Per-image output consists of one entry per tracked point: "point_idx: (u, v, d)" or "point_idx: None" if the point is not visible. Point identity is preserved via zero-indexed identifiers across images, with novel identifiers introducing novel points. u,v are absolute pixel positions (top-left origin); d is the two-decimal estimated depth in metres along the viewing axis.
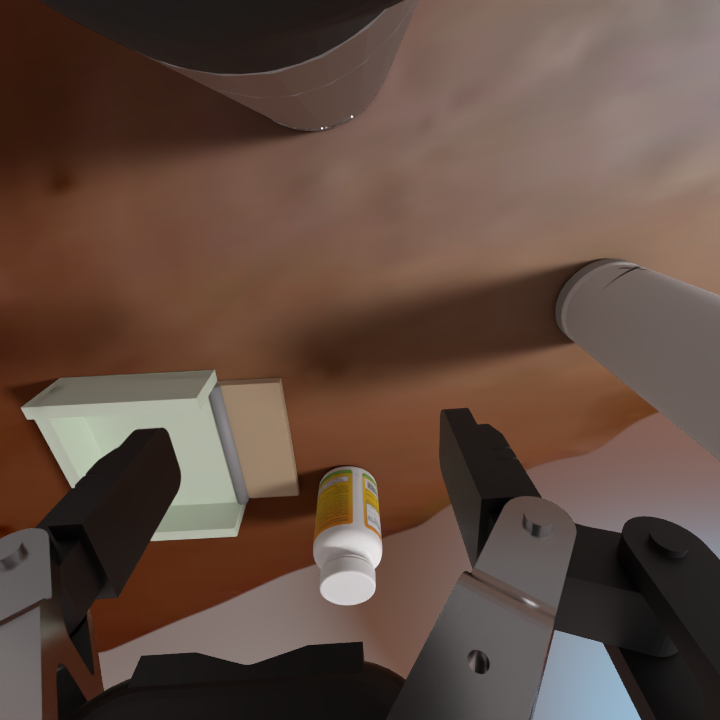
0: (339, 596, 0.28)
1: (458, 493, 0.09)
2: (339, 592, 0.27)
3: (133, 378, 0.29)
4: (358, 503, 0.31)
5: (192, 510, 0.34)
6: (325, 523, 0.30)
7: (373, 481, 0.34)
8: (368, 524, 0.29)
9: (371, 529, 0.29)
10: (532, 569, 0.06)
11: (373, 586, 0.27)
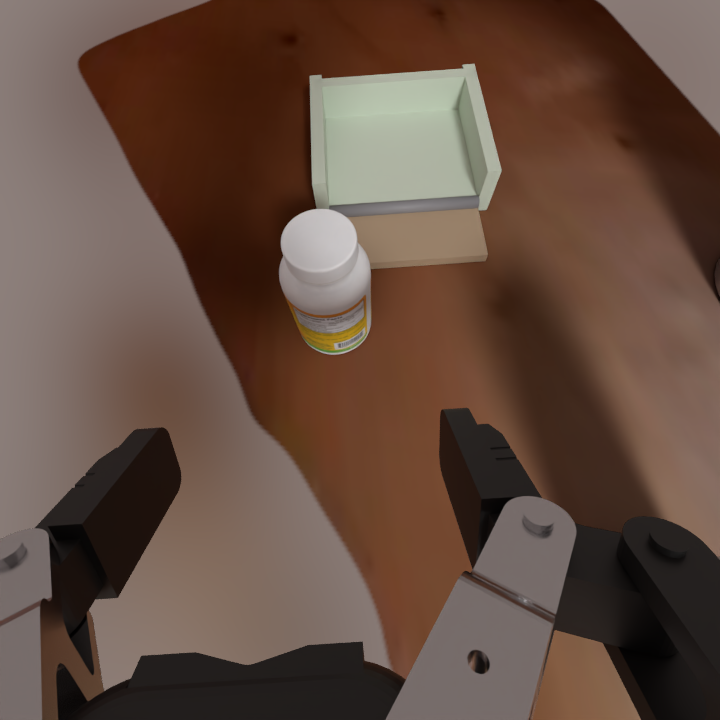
0: (303, 229, 0.20)
1: (458, 493, 0.09)
2: (312, 229, 0.20)
3: None
4: (368, 304, 0.24)
5: None
6: None
7: (353, 346, 0.27)
8: (362, 300, 0.23)
9: (359, 301, 0.22)
10: (532, 570, 0.06)
11: (322, 268, 0.19)
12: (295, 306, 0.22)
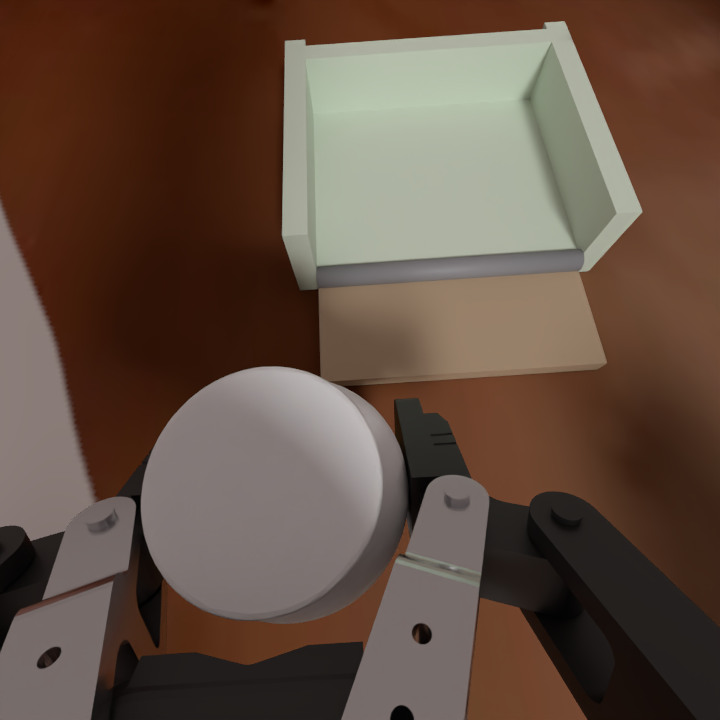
0: (216, 443, 0.06)
1: None
2: (243, 443, 0.06)
3: None
4: None
5: (313, 190, 0.18)
6: None
7: None
8: None
9: None
10: (457, 540, 0.07)
11: (267, 610, 0.06)
12: None
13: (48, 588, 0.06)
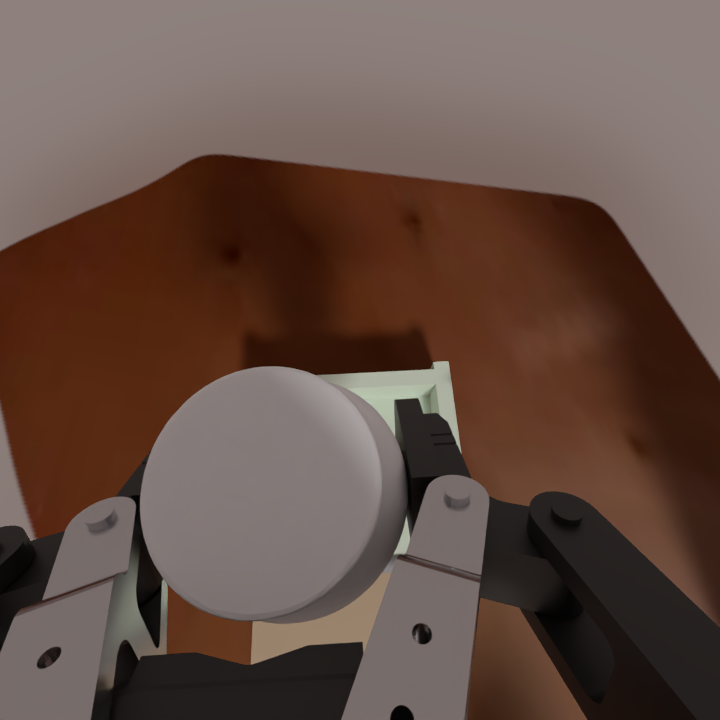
0: (215, 443, 0.06)
1: None
2: (242, 443, 0.06)
3: None
4: None
5: None
6: None
7: None
8: None
9: None
10: (456, 541, 0.07)
11: (267, 611, 0.06)
12: None
13: (48, 588, 0.06)
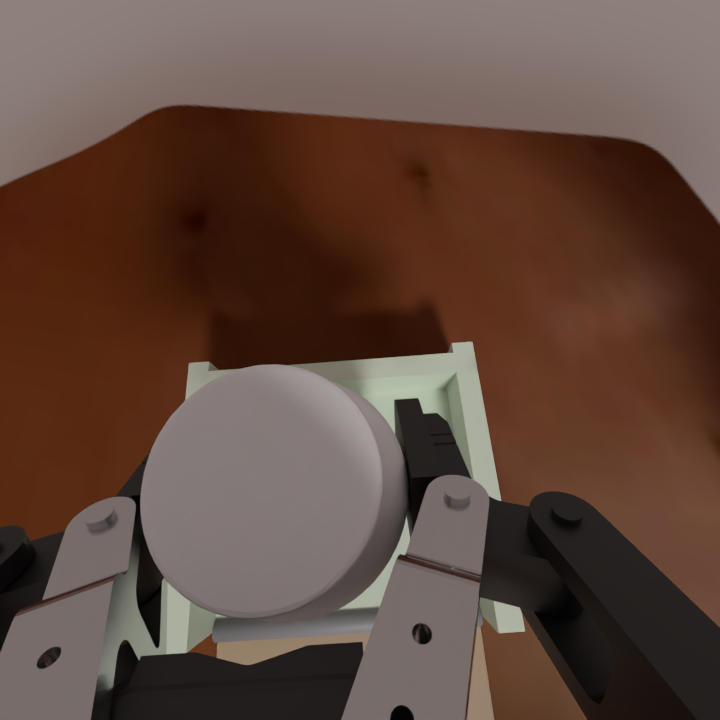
0: (216, 442, 0.06)
1: None
2: (242, 441, 0.06)
3: None
4: None
5: None
6: None
7: None
8: None
9: None
10: (456, 541, 0.07)
11: (267, 608, 0.06)
12: None
13: (48, 588, 0.06)
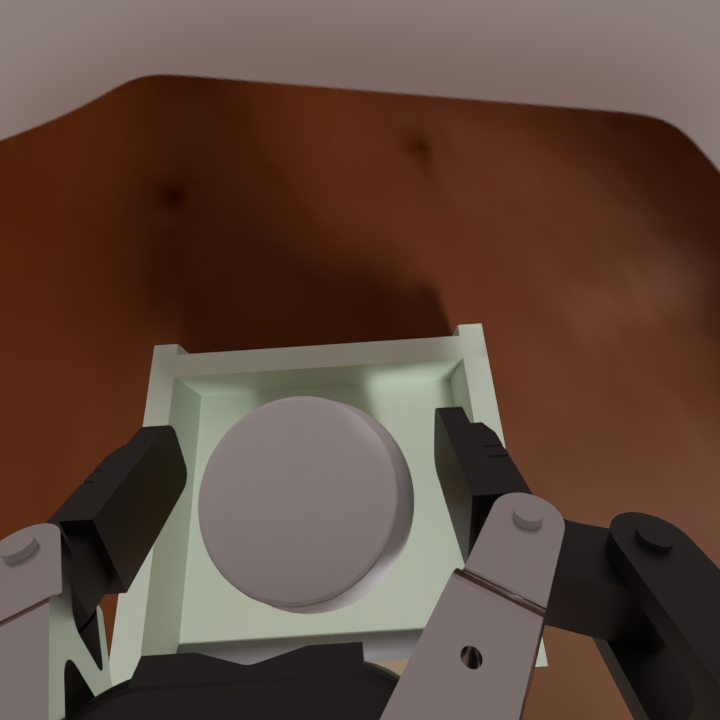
0: (259, 462, 0.08)
1: (451, 490, 0.10)
2: (281, 461, 0.08)
3: None
4: None
5: (181, 538, 0.16)
6: None
7: None
8: None
9: None
10: (521, 565, 0.06)
11: (308, 598, 0.07)
12: None
13: None
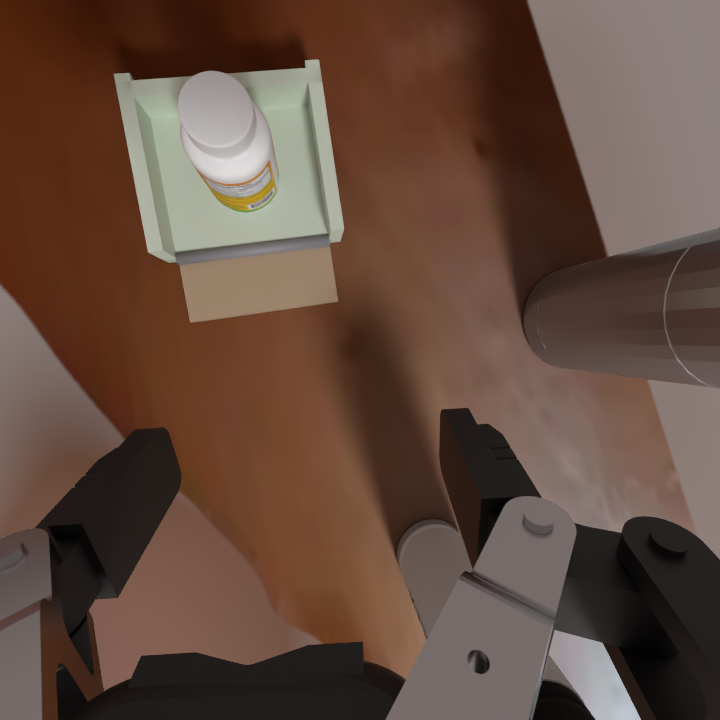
0: (198, 98, 0.21)
1: (458, 493, 0.09)
2: (207, 97, 0.21)
3: None
4: (274, 165, 0.26)
5: (162, 199, 0.29)
6: None
7: (265, 205, 0.30)
8: (267, 166, 0.25)
9: (264, 168, 0.24)
10: (532, 570, 0.06)
11: (225, 143, 0.21)
12: (204, 175, 0.24)
13: None
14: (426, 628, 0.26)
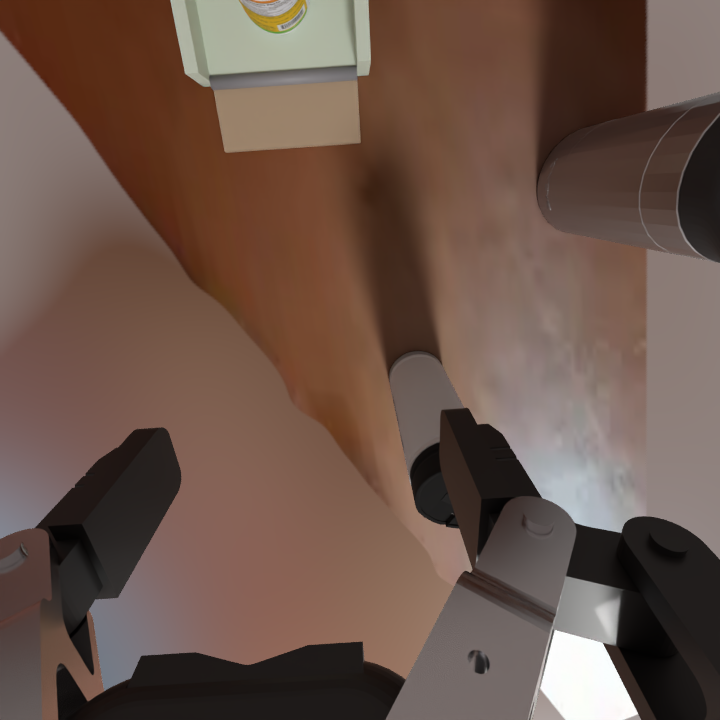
0: None
1: (458, 493, 0.09)
2: None
3: None
4: None
5: (195, 11, 0.29)
6: None
7: (295, 26, 0.30)
8: None
9: None
10: (532, 570, 0.06)
11: None
12: None
13: None
14: (398, 416, 0.35)
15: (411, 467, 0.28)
